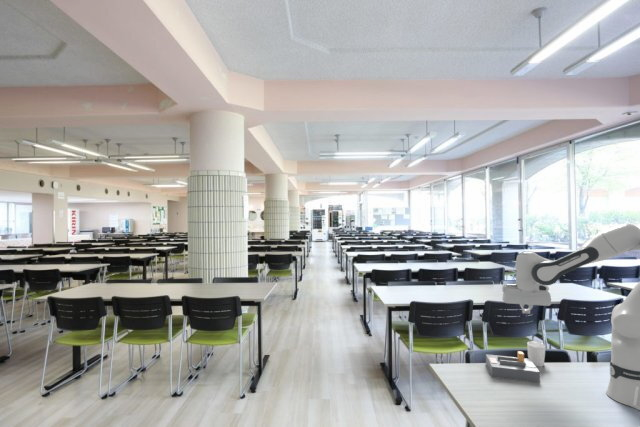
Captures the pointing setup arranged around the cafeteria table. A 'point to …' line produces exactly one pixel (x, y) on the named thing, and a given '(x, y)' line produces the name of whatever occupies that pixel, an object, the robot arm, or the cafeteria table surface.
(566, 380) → the cafeteria table surface
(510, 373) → the breaker box
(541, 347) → the white cup
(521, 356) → the breaker toggle
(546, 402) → the cafeteria table surface
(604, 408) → the cafeteria table surface
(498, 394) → the cafeteria table surface
